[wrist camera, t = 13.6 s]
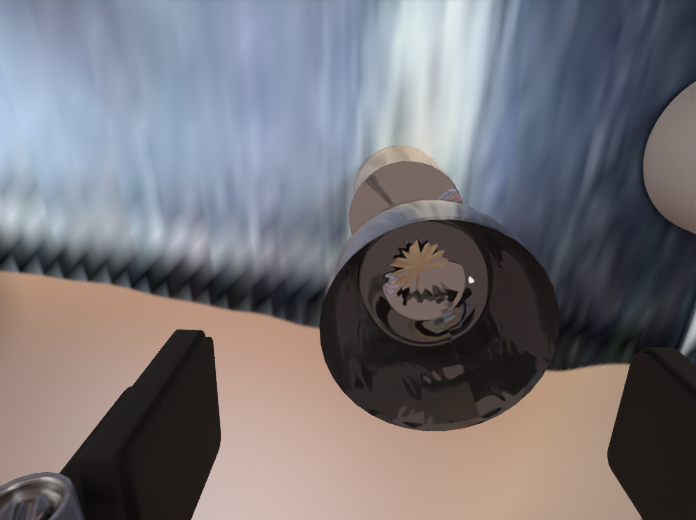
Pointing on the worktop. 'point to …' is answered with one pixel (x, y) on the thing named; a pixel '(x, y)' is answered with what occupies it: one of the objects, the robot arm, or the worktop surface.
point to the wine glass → (434, 306)
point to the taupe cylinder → (674, 161)
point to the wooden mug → (393, 161)
